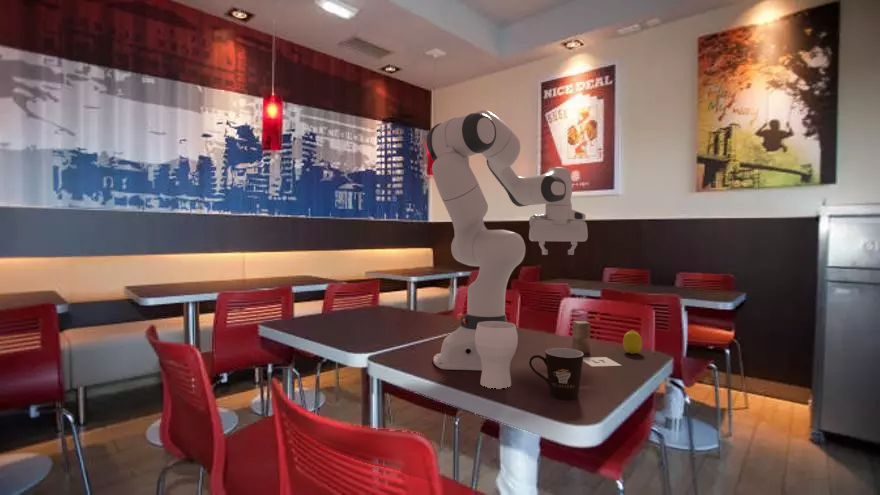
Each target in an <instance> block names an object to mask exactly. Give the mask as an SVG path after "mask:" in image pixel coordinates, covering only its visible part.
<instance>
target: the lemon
mask: <svg viewBox="0 0 880 495" xmlns="http://www.w3.org/2000/svg"><path fill="white" fill-rule="evenodd" d="M622 346H623V348H624V350H625V352H627V353H629V354H631V355H635V354H638V353H639V352H640V351H641V350H642V346H643V340H642V337H641V335H640V334H639V333H638V332H637V331H635V330H633V329H631V330H630V331H627V332H626V333H625V334H624V336H623V339H622Z"/></svg>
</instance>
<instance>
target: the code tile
mask: <svg viewBox="0 0 880 495" xmlns="http://www.w3.org/2000/svg"><path fill="white" fill-rule="evenodd" d="M583 363H586V364H587V365H589V366H590V367H613V366H615V367H616V366H622V364H620V363H618V362H616V361H615V360H612V359H611V358H608V357H607V356H598V357H597V356H596V357H595V356H594V357H592V356H591V357H583Z"/></svg>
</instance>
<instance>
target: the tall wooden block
mask: <svg viewBox="0 0 880 495" xmlns="http://www.w3.org/2000/svg"><path fill="white" fill-rule="evenodd" d="M572 349H574V350H578V351H581V352H582V353H583V354H588V353H589V354H590V353H591V323H590V322H588V321H586V320H573V321H572Z"/></svg>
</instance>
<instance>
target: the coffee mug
mask: <svg viewBox="0 0 880 495" xmlns="http://www.w3.org/2000/svg"><path fill="white" fill-rule="evenodd" d="M544 353H545V354H544V355H545V357H544V356H542V355H540V354H536V355H535V354H534V355H533V356H531V357H530V359H529V361H528V364H529V367H530V369H531V370H532V371H533V372H534V373H535V374H536V375H537V376H538V377H539V378H541V379H543V380H544V381H545V382H546V384H548V390H549V392H548V393H549V396H550V395H551V396H550V397H552V398H554V399H557V400H563V401H572V400H573V401H574V400H577V399H578V398H579V393H580V392H579V391H580V385H581V384H580V383H581V375H582V370H583V363H584V361H583V358H584V354H585V353H582V352H581V351H578V350H574V349H573V348H566V347H554V348H553V347H552V348H551V347H550V348H547V349H546V350H545V351H544ZM536 358H537V359H541V360H542V361H543V362H544V364H545V366H546V372H547V377H546V376H544V375H543V374H541V373H540V372H538V371H537V370H536V369H535V367H533V365H532V362H533V360H534V359H536Z"/></svg>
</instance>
